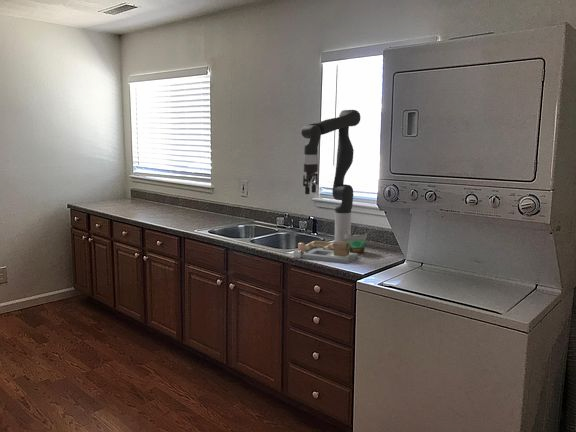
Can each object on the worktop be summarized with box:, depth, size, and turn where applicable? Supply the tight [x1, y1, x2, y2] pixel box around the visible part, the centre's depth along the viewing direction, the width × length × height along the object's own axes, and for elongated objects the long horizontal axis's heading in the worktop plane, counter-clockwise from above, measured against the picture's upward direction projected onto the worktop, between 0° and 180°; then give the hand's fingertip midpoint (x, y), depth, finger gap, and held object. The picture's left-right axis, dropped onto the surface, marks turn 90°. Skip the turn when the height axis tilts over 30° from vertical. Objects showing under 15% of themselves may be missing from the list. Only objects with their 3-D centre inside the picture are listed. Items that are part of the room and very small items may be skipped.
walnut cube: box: [333, 241, 349, 256], centre depth 255 cm, size 6×6×6 cm
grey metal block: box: [293, 249, 302, 259], centre depth 260 cm, size 4×4×4 cm
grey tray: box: [302, 248, 359, 264], centre depth 258 cm, size 15×24×2 cm, turn 64°
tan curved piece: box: [304, 240, 335, 252], centre depth 276 cm, size 14×12×3 cm
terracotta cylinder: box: [297, 242, 305, 256], centre depth 265 cm, size 3×3×6 cm
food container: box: [344, 232, 368, 255], centre depth 268 cm, size 12×6×10 cm, turn 103°
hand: (310, 193), depth 275 cm, fingers open, 8 cm apart
